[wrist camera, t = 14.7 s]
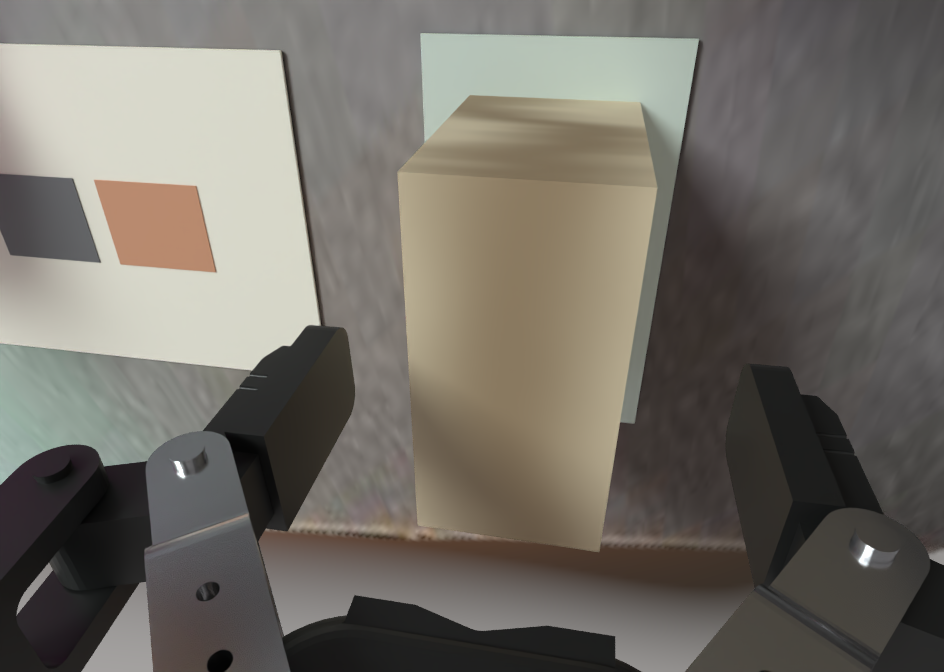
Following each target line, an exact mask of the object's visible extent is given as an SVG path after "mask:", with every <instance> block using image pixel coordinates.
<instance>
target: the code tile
mask: <svg viewBox="0 0 944 672" xmlns="http://www.w3.org/2000/svg"><path fill="white" fill-rule="evenodd" d="M308 325H317V326H321V320H320V313H319V306H318V299H317V293H316V286H315V279H314V272H313V265H312V258H311V251H310V244H309V237H308V230H307V223H306V216H305V210H304V203H303V196H302V189H301V182H300V175H299V168H298V161H297V154H296V147H295V140H294V133H293V127H292V120H291V113H290V106H289V99H288V92H287V85H286V78H285V71H284V64H283V57H282V50H246V49H205V48H165V47H124V46H84V45H43V44H3V43H0V343H3V344H12V345H22V346H31V347H40V348H49V349H59V350H68V351H77V352H86V353H95V354H105V355H114V356H123V357H132V358H142V359H151V360H160V361H169V362H179V363H188V364H197V365H206V366H215V367H225V368H234V369H243V370H253V369H254V368H255V367H256V365H257V364H258V363H259V362H260V361H261V359H262V358H264V357H265V356H267V355H268V354H270V353H272V352H273V351H275V350H276V349H278V348H280V347H281V346H291V345H292V344H293V343H294V341H295V340H296V339H297V337H298V336H299V335H300V334H301V332H302V331H303V330H304V328H305V327H306V326H308Z"/></svg>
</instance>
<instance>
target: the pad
mask: <svg viewBox="0 0 944 672" xmlns="http://www.w3.org/2000/svg"><path fill="white" fill-rule="evenodd" d="M420 35H421V60H422V85H423V110H424V135H425V142H426V141H427V140H428V139H429V138H430V137H431V136H432V135H433V134H434V133H435V132H436V130H437V129H438V128H439V127H440V126H441V125H442V124H443V123H444V122H445V121H446V120H447V119H448V118H449V117H450V116H451V114H452V113H453V112H454V111H455V110H456V109H457V108H458V107H459V106H460V105H461V104H462V103H463V102H464V101H465V100H466V99H467V97H468V96H469V95H479V96H503V97H527V98H552V99H576V100H600V101H625V102H640V103H641V108H642V113H643V118H644V123H645V128H646V133H647V138H648V143H649V148H650V153H651V158H652V163H653V168H654V172H655V177H656V182H657V187H658V188H657V195H656V201H655V207H654V213H653V219H652V226H651V232H650V238H649V244H648V251H647V257H646V263H645V269H644V276H643V282H642V288H641V294H640V301H639V307H638V313H637V319H636V326H635V332H634V338H633V344H632V350H631V357H630V363H629V369H628V375H627V382H626V388H625V394H624V400H623V407H622V413H621V419H620V422H624V423H633V424H635V418H636V412H637V406H638V400H639V394H640V388H641V382H642V376H643V370H644V364H645V358H646V352H647V346H648V340H649V334H650V328H651V322H652V316H653V310H654V305H655V299H656V293H657V287H658V281H659V275H660V269H661V263H662V257H663V251H664V245H665V239H666V233H667V227H668V221H669V215H670V209H671V203H672V197H673V191H674V185H675V179H676V173H677V167H678V161H679V155H680V149H681V143H682V137H683V131H684V125H685V119H686V114H687V108H688V102H689V96H690V90H691V84H692V78H693V72H694V66H695V60H696V54H697V48H698V42H699V39H693V38H642V37H591V36H539V35H488V34H437V33H421V34H420Z"/></svg>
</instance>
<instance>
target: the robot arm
mask: <svg viewBox="0 0 944 672" xmlns="http://www.w3.org/2000/svg"><path fill="white" fill-rule="evenodd" d="M354 400H355V384H354V377H353V370H352V363H351V356H350V349H349V342H348V336H347V333H346V330H345V329H344V328H340V327H329V326H317V325H308V326H306V327H305V328H304V330H303V331H302V332H301V334H300V335H299V336H298V337H297V339H296V340H295V341H294V343H293V344H292V345H291V346H281V347H280V348H278V349H276V350H275V351H273V352H272V353H270V354H268V355H267V356H265V357H264V358H262V359H261V361H260V362H259V363H258V364H257V365H256V367H255V368H254V369H253V370H252V372H251V373H250V377H247V378H246V379H245V380H244V381H243V383H242V384H241V385H240V388H239V389H237V390H236V391H235V392H234V394H233V395H232V396H231V397H230V398H229V400H228V401H227V402H226V403H225V404H224V406H223V407H222V408H221V409H220V411H219V412H218V413H217V414H216V415H215V417H214V418H213V419H212V420H211V422H210V423H209V424H208V425H207V426H206V428H205V429H204V430H203V431H197V432H191V433H187V434H183V435H180V436H177V437H175V438H173V439H171V440H169V441H167V442H165V443H164V444H163V445H161V446H160V447H158V448H157V449H156V450H155V451H154V452H153V453H152V455H151V456H150V457H149V459H148V461H146V462H138V463H129V464H121V465H113V466H105V467H104V466H103V463H102V461H101V459H100V457H99V454H98V452H97V451H96V450H95V449H93V448H92V447H89V446H86V445H66V446H61V447H57V448H53V449H50V450H47V451H45V452H42V453H40V454H38V455H36V456H34V457H33V458H31V459H29V460H28V461H26V462H25V463H23V464H22V465H21V466H20V467H19V468H18V469H16V470H15V471H14V472H13V473H12V474H11V475H10V476H9V477H8V478H7V479H6V480H5V481H4V482H3V483H2V484H1V485H0V672H81V671H82V670H83V668H84V666H85V665H86V663H87V662H88V661H89V659H90V658H91V656H92V655H93V653H94V651H95V650H96V648H97V647H98V645H99V644H100V642H101V641H102V639H103V638H104V636H105V635H106V633H107V632H108V630H109V629H110V627H111V625H112V624H113V622H114V621H115V619H116V618H117V616H118V615H119V613H120V612H121V610H122V608H123V607H124V606H125V604H126V603H127V601H128V600H129V598H130V597H131V595H132V593H133V592H134V590H135V589H136V587H137V586H138V584H139V583H140V582H146V585H147V597H148V610H149V623H150V635H151V647H152V660H153V672H641V671H639V670H637V669H636V668H634V667H632V666H630V665H628V664H627V663H624V662H622V661H620V660H618V659H615V636H609V635H602V634H596V633H590V632H584V631H577V630H571V629H564V628H558V627H552V626H540V627H527V628H515V629H503V630H491V631H477V630H473V629H470V628H468V627H465V626H463V625H461V624H458V623H456V622H454V621H451V620H449V619H447V618H444V617H442V616H440V615H438V614H435V613H433V612H431V611H428V610H426V609H424V608H421V607H419V606H417V605H413V604H406V603H400V602H394V601H387V600H381V599H374V598H368V597H362V596H356V595H355V596H354V598H353V601H352V603H351V606H350V609H349V611H348V614H347V616H338V617H334V618H329V619H324V620H321V621H318V622H315V623H311V624H309V625H306V626H304V627H302V628H299V629H297V630H295V631H293V632H291V633H289V634H288V635H286V636H284V634H283V630H282V627H281V623H280V619H279V616H278V612H277V608H276V605H275V601H274V598H273V594H272V590H271V587H270V583H269V579H268V575H267V572H266V568H265V564H264V561H263V557H262V554H261V550H260V546H259V543H258V541H259V539H260V537H261V536H262V534H263V532H264V530H265V529H266V528H267V529H274V530H281V531H288V530H289V528H290V526H291V524H292V522H293V520H294V518H295V517H296V515H297V513H298V511H299V509H300V507H301V506H302V504H303V502H304V500H305V498H306V496H307V494H308V493H309V491H310V489H311V487H312V485H313V483H314V482H315V480H316V478H317V476H318V474H319V472H320V471H321V469H322V467H323V465H324V463H325V461H326V459H327V458H328V456H329V454H330V452H331V450H332V448H333V447H334V445H335V443H336V441H337V439H338V437H339V435H340V434H341V432H342V430H343V428H344V426H345V424H346V423H347V421H348V419H349V417H350V415H351V412H352V409H353V405H354ZM846 436H847V435H846V433H845V430H844V428H843V426H842V424H841V422H840V420H839V418H838V415H837V414H836V413H835V412H834V411H833V410H831V409H830V408H829V407H828V406H827V405H826V404H825V403H824V402H823V401H822V400H821V399H820V398H819V397H817V396H811V395H801V394H800V392H799V389H798V387H797V384H796V382H795V379H794V377H793V375H792V372H791V370H790V369H789V368H788V367H781V366H769V365H758V364H745V366H744V367H743V369H742V372H741V375H740V379H739V383H738V387H737V391H736V395H735V399H734V403H733V407H732V411H731V414H730V418H729V422H728V426H727V433H726V457H727V462H728V467H729V472H730V476H731V481H732V485H733V490H734V495H735V499H736V504H737V508H738V513H739V518H740V522H741V527H742V532H743V536H744V541H745V545H746V550H747V554H748V559H749V564H750V568H751V573H752V578H753V582H754V587H755V589H754V590H753V591H752V592H751V593H750V594H749V595H748V597H747V598H746V599H745V600H744V602H743V603H742V604H741V605H740V606H739V608H738V609H737V610H736V611H735V612H734V614H733V615H732V616H731V617H730V618H729V620H728V621H727V622H726V623H725V624H724V626H723V627H722V628H721V629H720V630H719V632H718V633H717V634H716V635H715V636H714V638H713V639H712V640H711V641H710V642H709V644H708V645H707V646H706V647H705V648H704V650H703V651H702V652H701V653H700V654H699V656H698V657H697V658H696V659H695V660H694V662H693V663H692V664H691V665H690V667H689V668H688V669H687V670H686V671H685V672H944V565H942V564H939V563H937V562H935V561H933V560H931V559H930V558H929V555H928V553H927V550H926V548H925V547H924V545H923V544H922V543H921V541H920V540H919V539H918V538H917V537H916V536H915V535H914V534H913V533H912V532H911V531H910V530H908V529H907V528H906V527H904V526H903V525H902V524H900V523H898V522H897V521H895V520H893V519H891V518H889V517H887V516H885V515H884V514H883V512H882V510H881V508H880V506H879V503H878V501H877V499H876V497H875V495H874V493H873V491H872V488H871V486H870V484H869V482H868V480H867V478H866V476H865V473H864V471H863V469H862V467H861V465H860V463H859V460H858V458H857V456H854V450H853V448H852V445H851V443H850V441H849V439H846ZM48 563H50V565H51V567H52V569H53V571H52V572H51V574H50V575H49V576H48V577H47V578H46V580H45V581H44V582H43V584H42V585H41V586H40V587H39V588H38V590H37V591H36V592H35V593H34V595H33V596H32V597H31V598H30V600H29V601H28V602H27V603H26V605H25V606H24V607H23V608H22V610H21V611H20V612H19V613H18V615H17V616H16V614H17V607H18V604H19V602H20V599H21V597H22V596H23V594H24V592H25V591H26V590H27V588H28V587H29V586H30V585H31V583H32V582H33V581H34V580H35V578H36V577H37V576H38V575H39V574H40V572H41V571H42V570H43V569H44V568H45V566H46V565H47V564H48Z"/></svg>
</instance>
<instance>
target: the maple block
mask: <svg viewBox="0 0 944 672" xmlns="http://www.w3.org/2000/svg"><path fill="white" fill-rule="evenodd" d="M398 188H399V206H400V223H401V241H402V258H403V276H404V293H405V311H406V328H407V346H408V363H409V381H410V398H411V416H412V433H413V451H414V468H415V486H416V503H417V521H418V525H419V526H426V527H433V528H439V529H446V530H453V531H460V532H467V533H474V534H480V535H487V536H494V537H501V538H508V539H514V540H521V541H528V542H535V543H542V544H548V545H555V546H562V547H569V548H576V549H582V550H589V551H596V552H599V550H600V544H601V538H602V531H603V525H604V519H605V513H606V506H607V500H608V494H609V488H610V481H611V475H612V469H613V463H614V456H615V450H616V444H617V438H618V432H619V425H620V419H621V413H622V407H623V400H624V394H625V388H626V382H627V375H628V369H629V363H630V357H631V350H632V344H633V338H634V332H635V326H636V319H637V313H638V307H639V301H640V294H641V288H642V282H643V276H644V269H645V263H646V257H647V251H648V244H649V238H650V232H651V226H652V219H653V213H654V207H655V201H656V195H657V188H658V187H657V182H656V177H655V172H654V168H653V163H652V158H651V153H650V148H649V143H648V138H647V133H646V128H645V123H644V118H643V113H642V108H641V103H640V102H625V101H600V100H576V99H552V98H527V97H503V96H479V95H469V96H468V97H467V99H466V100H465V101H464V102H463V103H462V104H461V105H460V106H459V107H458V108H457V109H456V110H455V111H454V112H453V113H452V114H451V116H450V117H449V118H448V119H447V120H446V121H445V122H444V123H443V124H442V125H441V126H440V127H439V128H438V129H437V130H436V132H435V133H434V134H433V135H432V136H431V137H430V138H429V139H428V140H427V141H426V142H425V143H424V144H423V145H422V146H421V147H420V149H419V150H418V151H417V152H416V153H415V154H414V155H413V156H412V157H411V158H410V159H409V160H408V161H407V162H406V163H405V165H404V166H403V167H402V168H401V169H400V170H399V171H398Z"/></svg>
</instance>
